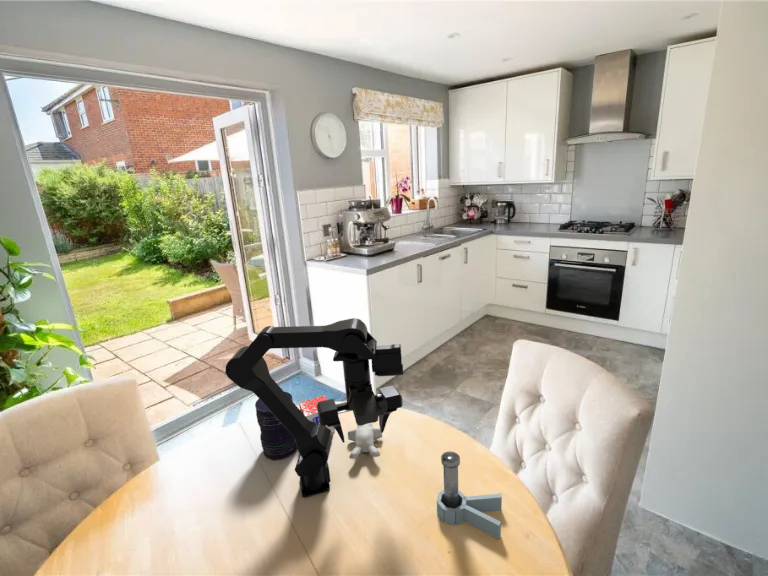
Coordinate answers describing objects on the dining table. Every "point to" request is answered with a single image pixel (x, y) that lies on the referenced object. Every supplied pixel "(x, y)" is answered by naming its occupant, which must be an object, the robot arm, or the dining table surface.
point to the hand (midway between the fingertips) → (362, 436)
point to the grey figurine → (364, 440)
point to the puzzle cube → (313, 410)
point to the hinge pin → (450, 478)
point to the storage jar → (274, 434)
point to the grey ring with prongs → (472, 512)
